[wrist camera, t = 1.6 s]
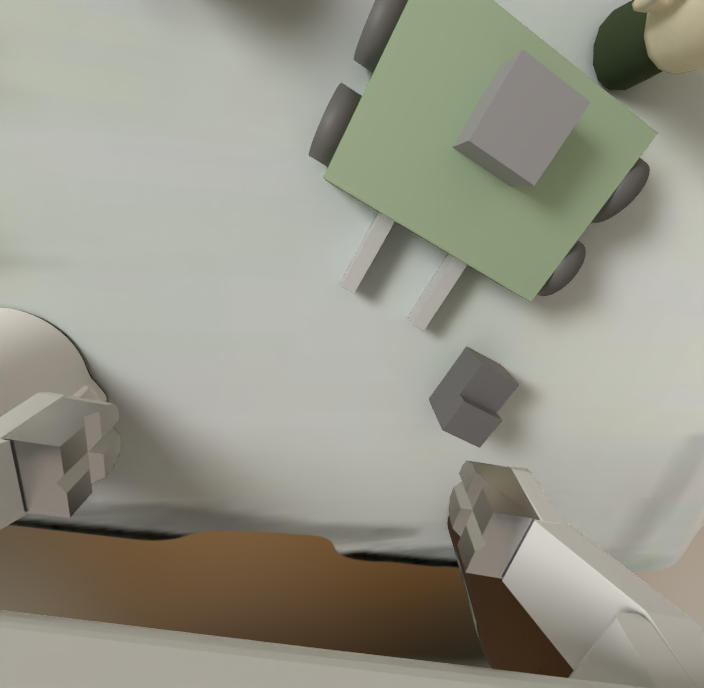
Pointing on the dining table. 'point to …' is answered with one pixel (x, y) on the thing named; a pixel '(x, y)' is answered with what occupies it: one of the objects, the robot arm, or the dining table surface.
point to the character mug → (649, 41)
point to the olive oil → (508, 626)
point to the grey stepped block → (472, 397)
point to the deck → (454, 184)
